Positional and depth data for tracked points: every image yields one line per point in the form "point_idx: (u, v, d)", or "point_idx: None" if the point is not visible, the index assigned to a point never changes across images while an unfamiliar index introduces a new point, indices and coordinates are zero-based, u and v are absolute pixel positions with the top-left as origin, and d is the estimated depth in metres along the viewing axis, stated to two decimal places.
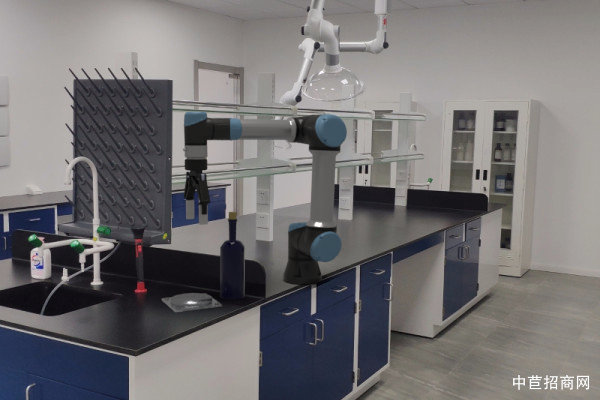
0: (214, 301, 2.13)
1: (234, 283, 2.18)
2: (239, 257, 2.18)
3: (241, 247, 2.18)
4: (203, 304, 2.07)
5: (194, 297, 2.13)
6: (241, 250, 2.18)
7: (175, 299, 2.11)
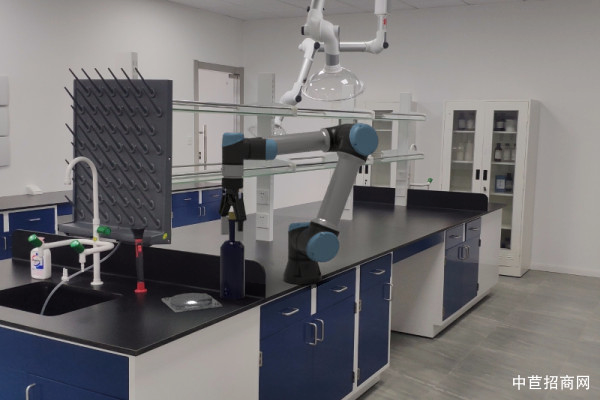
0: (214, 301, 2.13)
1: (234, 283, 2.18)
2: (239, 257, 2.18)
3: (241, 247, 2.18)
4: (203, 304, 2.07)
5: (194, 297, 2.13)
6: (241, 250, 2.18)
7: (175, 299, 2.11)
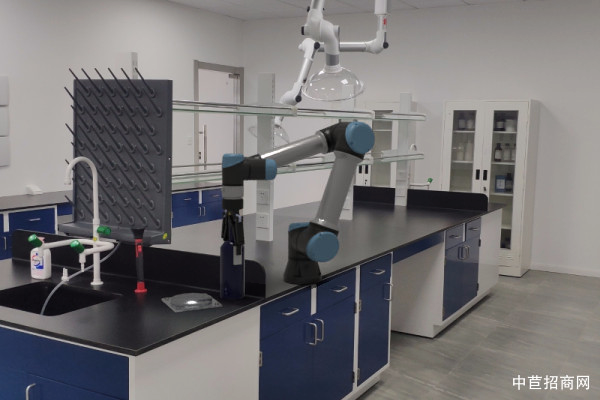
0: (214, 301, 2.13)
1: (234, 283, 2.18)
2: None
3: None
4: (203, 304, 2.07)
5: (194, 297, 2.13)
6: None
7: (175, 299, 2.11)
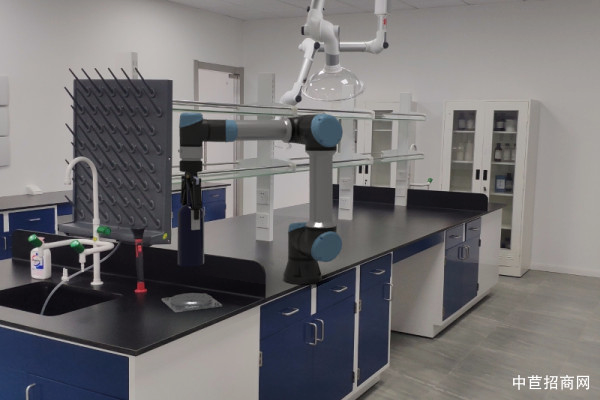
0: (214, 301, 2.13)
1: (192, 249, 2.06)
2: None
3: None
4: (203, 304, 2.07)
5: (194, 297, 2.13)
6: None
7: (175, 299, 2.11)
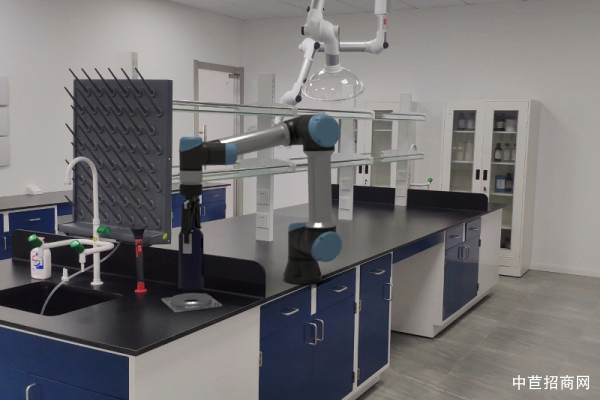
0: (214, 301, 2.13)
1: (185, 273, 2.07)
2: None
3: (193, 236, 2.06)
4: (203, 304, 2.07)
5: (194, 297, 2.13)
6: (193, 239, 2.06)
7: (175, 299, 2.11)
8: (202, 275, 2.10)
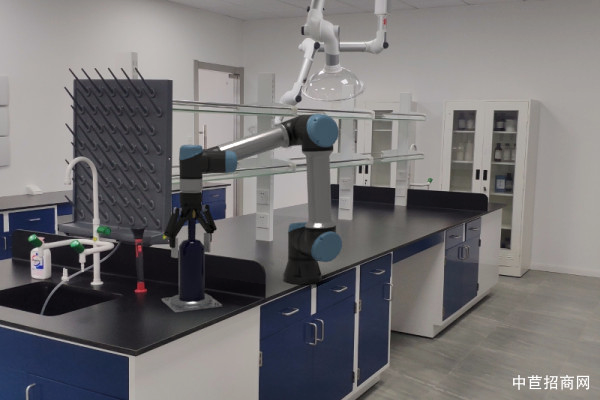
0: (214, 301, 2.13)
1: (179, 283, 2.09)
2: (184, 257, 2.07)
3: (186, 247, 2.06)
4: (203, 304, 2.07)
5: None
6: (186, 250, 2.06)
7: (175, 299, 2.11)
8: (197, 288, 2.08)
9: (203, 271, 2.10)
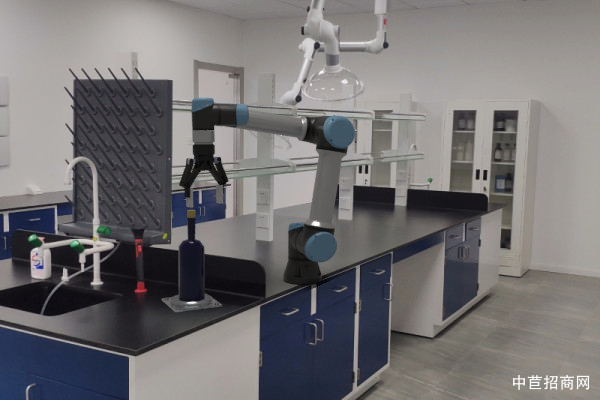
0: (214, 301, 2.13)
1: (179, 283, 2.09)
2: (184, 257, 2.07)
3: (186, 248, 2.06)
4: (203, 304, 2.07)
5: None
6: (186, 251, 2.06)
7: (175, 299, 2.11)
8: (196, 288, 2.08)
9: (203, 271, 2.10)
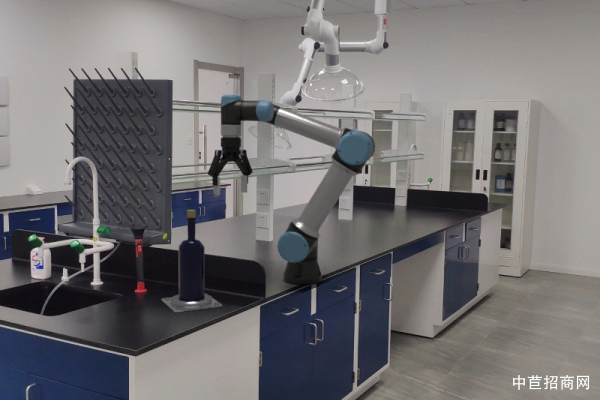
0: (214, 301, 2.13)
1: (179, 283, 2.09)
2: (184, 257, 2.07)
3: (186, 248, 2.06)
4: (203, 304, 2.07)
5: None
6: (186, 251, 2.06)
7: (175, 299, 2.11)
8: (196, 288, 2.08)
9: (203, 271, 2.10)
